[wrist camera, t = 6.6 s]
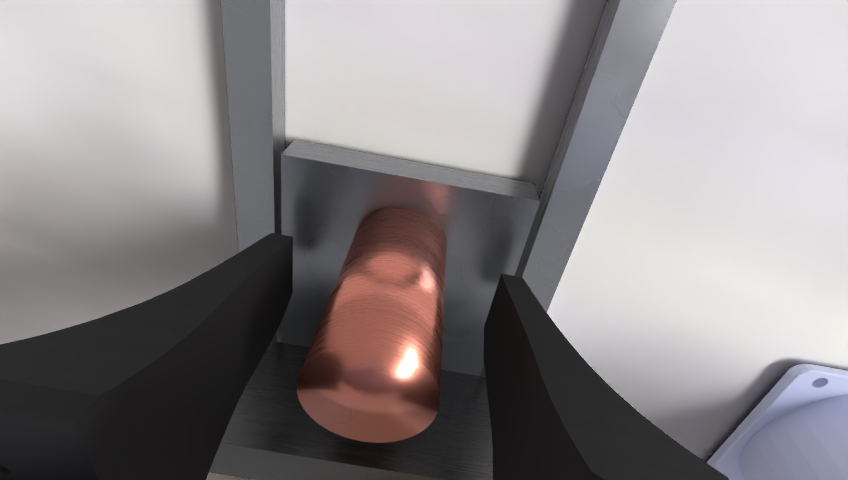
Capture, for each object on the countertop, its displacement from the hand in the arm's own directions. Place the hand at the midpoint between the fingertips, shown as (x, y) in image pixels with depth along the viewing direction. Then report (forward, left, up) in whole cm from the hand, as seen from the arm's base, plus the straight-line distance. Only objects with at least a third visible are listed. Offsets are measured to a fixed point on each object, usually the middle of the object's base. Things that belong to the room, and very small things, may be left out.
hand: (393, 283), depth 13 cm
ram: (0, +2, -2) cm, 3 cm away
